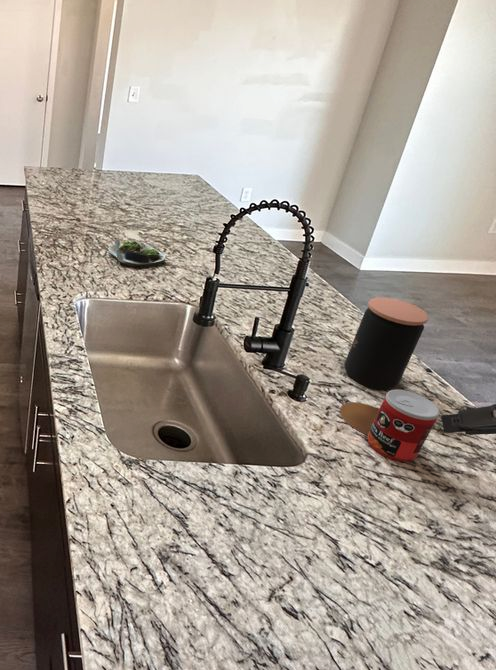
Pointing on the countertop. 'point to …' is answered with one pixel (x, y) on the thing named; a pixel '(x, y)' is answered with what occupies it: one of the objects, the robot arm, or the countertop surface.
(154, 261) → the salad plate
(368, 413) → the cork coaster
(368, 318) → the coffee jar
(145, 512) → the countertop surface
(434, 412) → the canned food
